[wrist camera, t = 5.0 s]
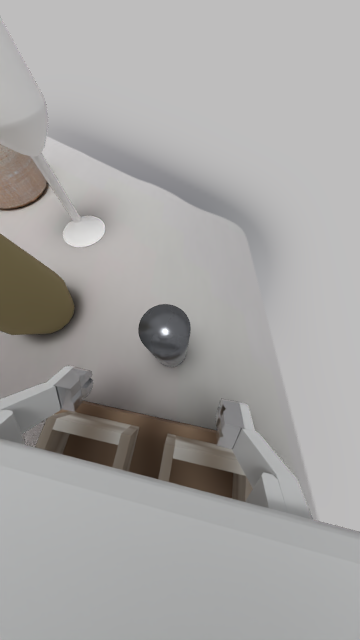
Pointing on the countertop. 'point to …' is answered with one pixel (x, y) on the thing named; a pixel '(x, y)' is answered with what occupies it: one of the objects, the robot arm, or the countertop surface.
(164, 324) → the pin
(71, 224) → the champagne flute
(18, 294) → the squeeze bottle
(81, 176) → the countertop surface
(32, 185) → the planter
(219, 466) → the wooden compartment tray
